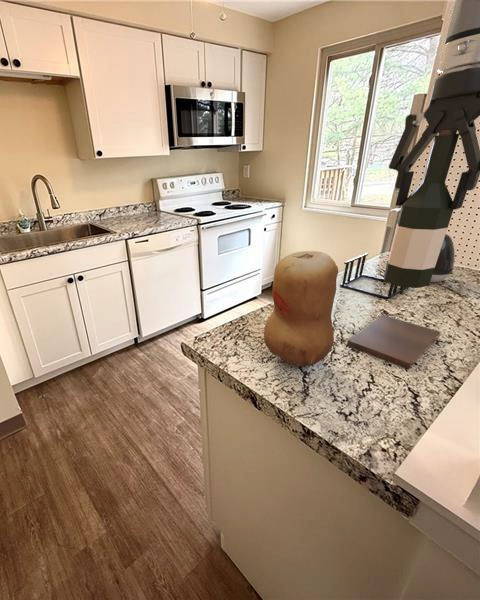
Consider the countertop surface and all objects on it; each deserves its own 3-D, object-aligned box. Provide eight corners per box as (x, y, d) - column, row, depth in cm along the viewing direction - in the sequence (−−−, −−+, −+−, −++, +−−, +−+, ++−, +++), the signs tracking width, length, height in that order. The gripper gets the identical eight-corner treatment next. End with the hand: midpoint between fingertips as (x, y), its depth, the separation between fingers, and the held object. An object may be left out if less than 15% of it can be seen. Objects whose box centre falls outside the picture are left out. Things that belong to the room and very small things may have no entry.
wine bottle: (415, 273, 72) (459, 128, 59) (439, 287, 65) (494, 125, 52) (375, 274, 74) (409, 133, 61) (394, 288, 66) (437, 131, 54)
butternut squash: (251, 348, 75) (258, 249, 65) (300, 338, 77) (315, 240, 67) (286, 385, 63) (302, 270, 52) (344, 371, 65) (370, 258, 54)
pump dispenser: (417, 271, 107) (430, 227, 100) (455, 280, 98) (472, 232, 91) (399, 278, 103) (411, 233, 97) (437, 288, 94) (453, 239, 88)
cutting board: (380, 319, 82) (381, 314, 81) (439, 337, 72) (441, 331, 72) (346, 345, 73) (347, 340, 72) (408, 369, 64) (410, 363, 63)
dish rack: (361, 275, 108) (366, 252, 104) (409, 287, 97) (417, 261, 93) (338, 286, 102) (343, 262, 98) (387, 299, 91) (394, 273, 87)
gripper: (384, 84, 60) (360, 205, 69) (556, 48, 43) (493, 215, 52) (404, 84, 63) (378, 200, 72) (571, 51, 46) (508, 207, 56)
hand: (426, 206), depth 62 cm, fingers closed on wine bottle, 8 cm apart
